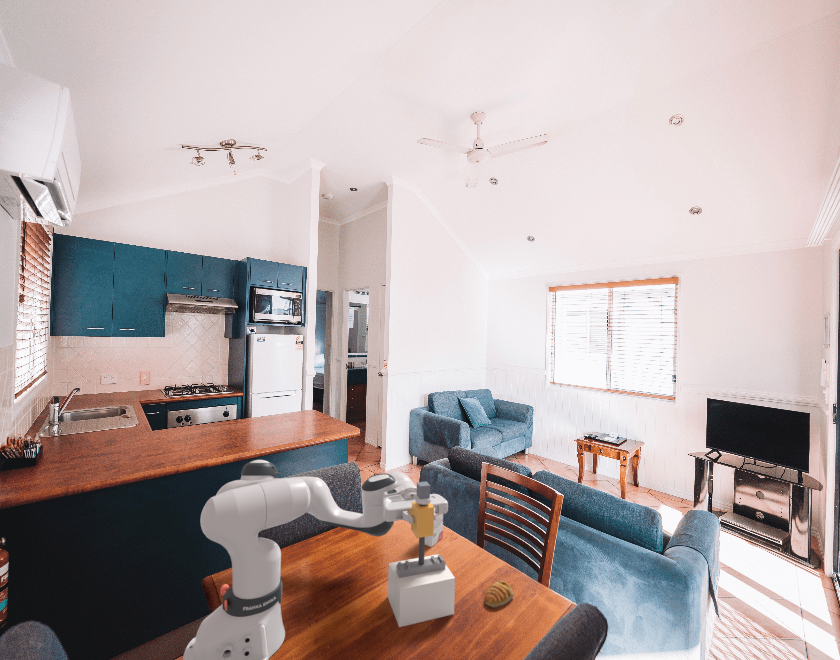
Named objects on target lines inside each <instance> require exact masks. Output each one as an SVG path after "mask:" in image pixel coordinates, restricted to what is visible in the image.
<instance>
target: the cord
mask: <svg viewBox="0 0 840 660" xmlns="http://www.w3.org/2000/svg"><path fill="white" fill-rule="evenodd" d="M416 486H417V495H416V497H415V502H416V503H418V504H420V507H422V506H426V504H429V503H430V502H431V496H430V494H431V484H430V483H428V481H417V482H416ZM425 546H426V545H425V537H421V538H418V558H419V561H418V564H419V565H423V564H424V557H425Z"/></svg>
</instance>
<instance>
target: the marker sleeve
mask: <svg viewBox="0 0 840 660" xmlns="http://www.w3.org/2000/svg"><path fill="white" fill-rule="evenodd" d="M412 515H414V517H415V523H414V524H410V527H411V528H410V530H411V531H412V533H413V535H414V536H415V538H416V539H419V538H421V537H427V536H433V529H434V506H433V505H432V504H431V503H429V504H426V506H422V507H420V504H418V503H416V502H412Z"/></svg>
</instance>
